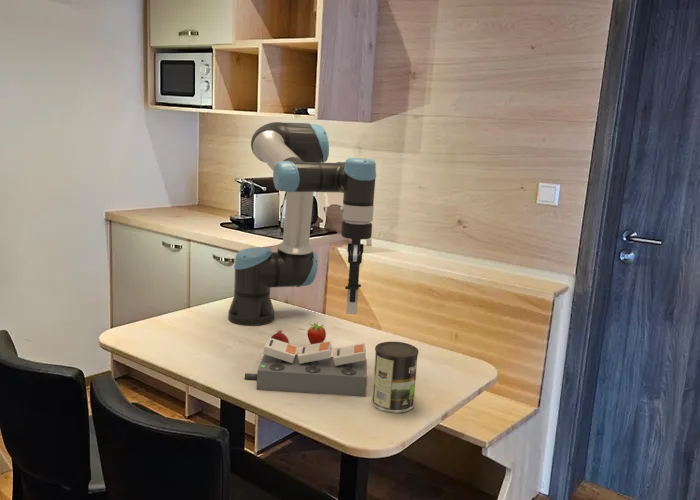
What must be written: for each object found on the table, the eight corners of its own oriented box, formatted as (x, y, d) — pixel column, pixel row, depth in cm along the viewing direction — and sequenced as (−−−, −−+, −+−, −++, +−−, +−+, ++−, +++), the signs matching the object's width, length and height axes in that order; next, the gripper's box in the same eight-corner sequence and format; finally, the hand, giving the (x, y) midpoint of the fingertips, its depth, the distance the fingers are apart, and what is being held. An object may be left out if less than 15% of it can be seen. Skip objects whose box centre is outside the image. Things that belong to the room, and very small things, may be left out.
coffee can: (417, 398, 157) (421, 344, 154) (409, 416, 147) (414, 359, 144) (376, 391, 160) (380, 338, 157) (366, 408, 150) (370, 352, 147)
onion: (285, 362, 175) (286, 334, 173) (265, 359, 176) (266, 332, 174) (291, 354, 180) (292, 328, 179) (271, 352, 181) (272, 325, 180)
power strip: (249, 369, 168) (249, 348, 167) (365, 376, 168) (366, 355, 167) (240, 388, 157) (241, 365, 155) (365, 396, 156) (367, 373, 155)
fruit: (323, 344, 190) (324, 318, 188) (326, 350, 185) (328, 324, 183) (305, 344, 189) (306, 319, 187) (308, 351, 184) (309, 325, 182)
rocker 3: (336, 355, 167) (334, 348, 167) (365, 350, 167) (364, 342, 166) (335, 365, 160) (333, 358, 160) (365, 360, 160) (364, 352, 159)
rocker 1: (266, 343, 167) (268, 336, 166) (295, 353, 167) (297, 345, 167) (262, 353, 160) (264, 346, 159) (292, 363, 160) (295, 355, 160)
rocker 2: (302, 353, 167) (300, 346, 167) (331, 348, 167) (329, 340, 166) (299, 363, 160) (297, 355, 160) (330, 357, 160) (328, 350, 159)
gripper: (342, 216, 162) (337, 304, 167) (341, 225, 150) (335, 320, 154) (372, 218, 162) (366, 306, 167) (372, 226, 149) (366, 322, 154)
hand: (351, 313), depth 161 cm, fingers closed
